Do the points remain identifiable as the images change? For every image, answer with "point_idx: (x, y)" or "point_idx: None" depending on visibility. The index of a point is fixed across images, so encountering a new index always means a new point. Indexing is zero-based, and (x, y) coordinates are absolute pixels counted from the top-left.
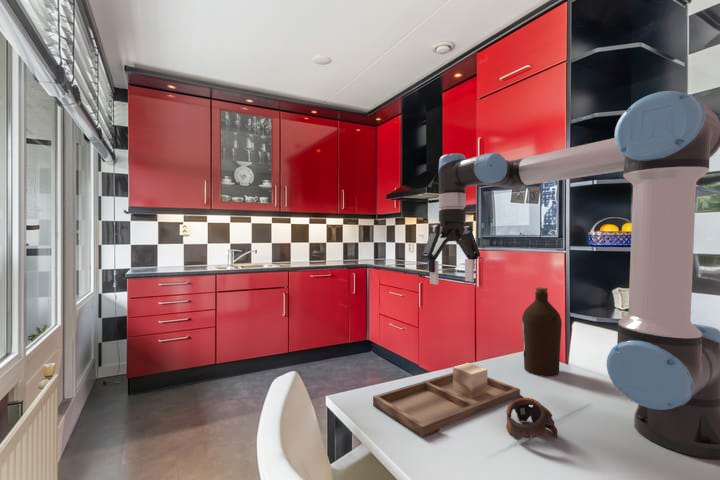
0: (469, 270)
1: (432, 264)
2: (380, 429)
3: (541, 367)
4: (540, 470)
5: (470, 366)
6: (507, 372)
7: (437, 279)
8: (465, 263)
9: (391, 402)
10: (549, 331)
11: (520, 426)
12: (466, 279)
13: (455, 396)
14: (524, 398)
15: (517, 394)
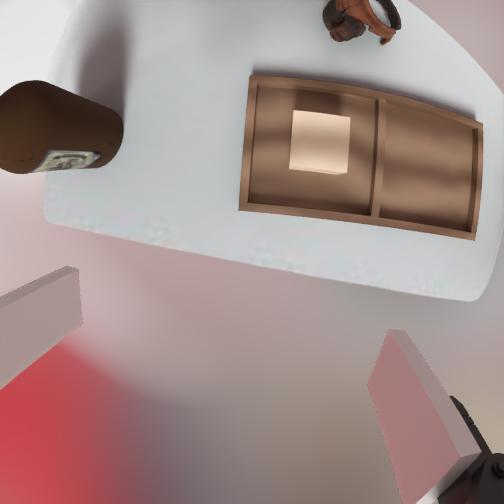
0: (32, 316)
1: (476, 439)
2: (496, 179)
3: (112, 117)
4: (410, 6)
5: (310, 146)
6: (150, 169)
7: (407, 348)
8: (7, 377)
9: (452, 219)
10: (59, 88)
11: (399, 16)
12: (76, 316)
13: (383, 136)
14: (369, 8)
15: (347, 27)
